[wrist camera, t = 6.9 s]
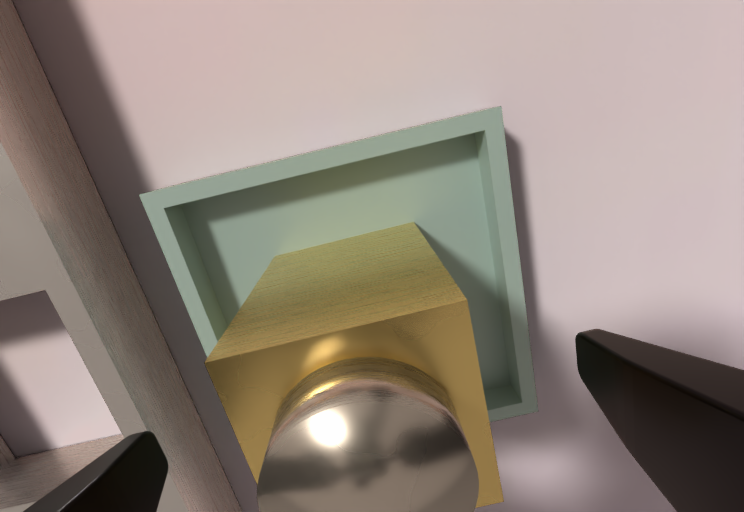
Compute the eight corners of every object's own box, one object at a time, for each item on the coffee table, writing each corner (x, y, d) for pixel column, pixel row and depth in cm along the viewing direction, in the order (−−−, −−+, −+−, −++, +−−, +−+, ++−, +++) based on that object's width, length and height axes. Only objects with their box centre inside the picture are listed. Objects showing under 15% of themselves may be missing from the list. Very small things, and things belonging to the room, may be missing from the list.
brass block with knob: (413, 221, 12) (492, 335, 5) (440, 345, 13) (530, 565, 7) (274, 256, 12) (171, 411, 5) (314, 374, 14) (273, 620, 7)
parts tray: (482, 109, 12) (501, 106, 10) (520, 384, 15) (538, 411, 13) (164, 187, 12) (138, 194, 10) (265, 441, 15) (255, 473, 13)
